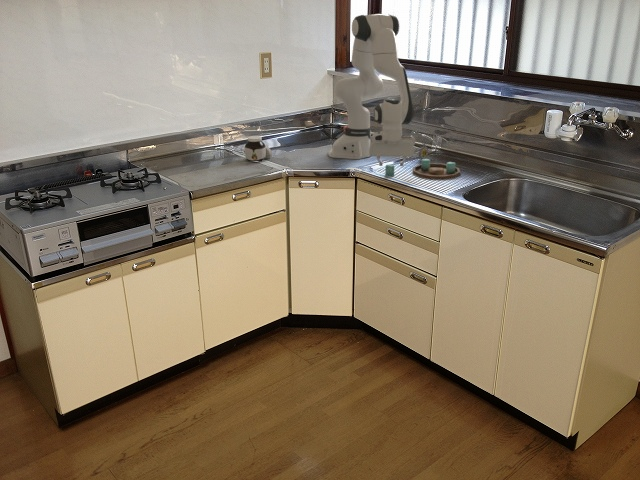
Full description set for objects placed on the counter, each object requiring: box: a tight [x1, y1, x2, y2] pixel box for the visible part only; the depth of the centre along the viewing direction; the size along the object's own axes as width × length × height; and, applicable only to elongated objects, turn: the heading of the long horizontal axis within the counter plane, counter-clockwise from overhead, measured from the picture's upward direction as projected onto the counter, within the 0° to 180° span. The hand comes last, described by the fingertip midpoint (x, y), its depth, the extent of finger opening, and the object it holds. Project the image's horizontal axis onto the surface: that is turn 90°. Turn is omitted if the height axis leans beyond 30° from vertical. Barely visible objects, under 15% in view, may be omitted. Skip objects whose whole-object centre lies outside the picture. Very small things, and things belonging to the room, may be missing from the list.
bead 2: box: [420, 158, 431, 171], centre depth 289 cm, size 4×4×4 cm
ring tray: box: [412, 162, 461, 180], centre depth 285 cm, size 21×21×2 cm
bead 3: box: [446, 161, 457, 174], centre depth 284 cm, size 4×4×4 cm
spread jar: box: [244, 135, 273, 162], centre depth 309 cm, size 12×11×12 cm
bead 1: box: [384, 164, 395, 177], centre depth 284 cm, size 4×4×4 cm
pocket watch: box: [418, 141, 436, 163], centre depth 302 cm, size 8×8×10 cm
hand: (391, 165), depth 283 cm, fingers open, 8 cm apart
